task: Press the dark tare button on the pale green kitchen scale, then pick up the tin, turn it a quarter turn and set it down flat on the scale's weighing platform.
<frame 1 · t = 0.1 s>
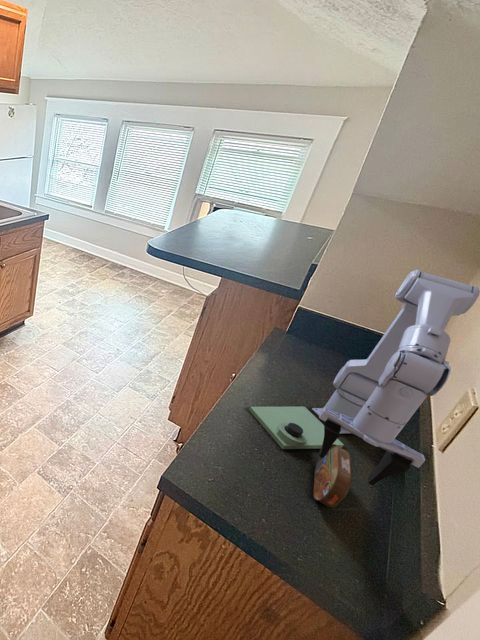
hand: (345, 468, 74), 10 cm above the counter, tool pointing down, fingers open, 7 cm apart
tin: (322, 487, 82), on the counter
tare button: (294, 430, 90), point 3 cm above the counter, slide at 0.1 cm
scale: (293, 428, 96), on the counter
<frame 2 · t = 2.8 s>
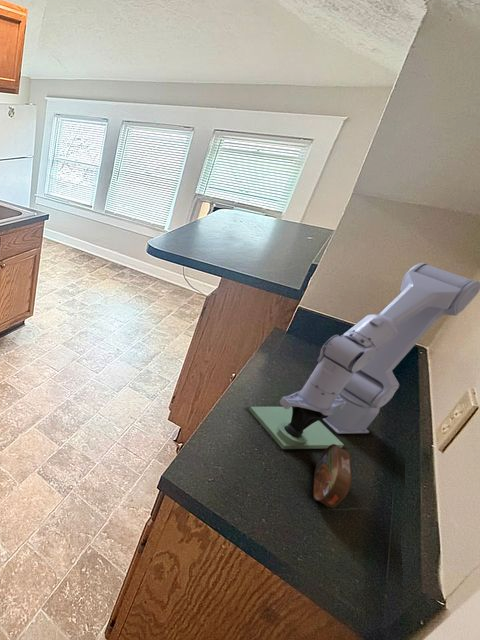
hand: (295, 427, 90), 4 cm above the counter, tool pointing down, fingers closed, pressing on tare button
tare button: (294, 430, 90), point 3 cm above the counter, slide at 0.1 cm, touching gripper
everything else where it was.
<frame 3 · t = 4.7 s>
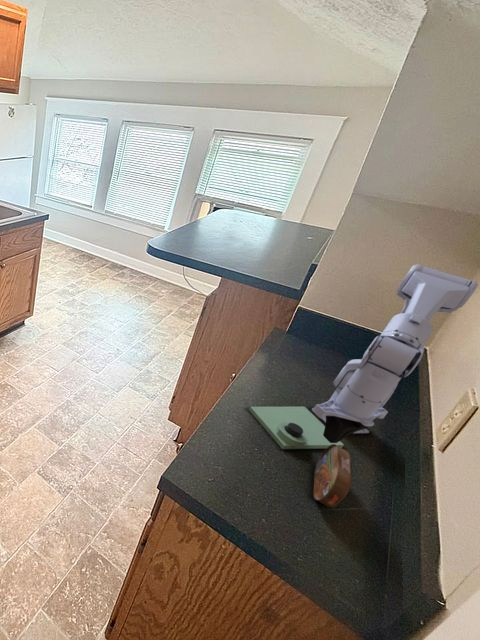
hand: (329, 439, 81), 10 cm above the counter, tool pointing down, fingers closed
tare button: (294, 430, 90), point 3 cm above the counter, slide at 0.1 cm
everything else where it was.
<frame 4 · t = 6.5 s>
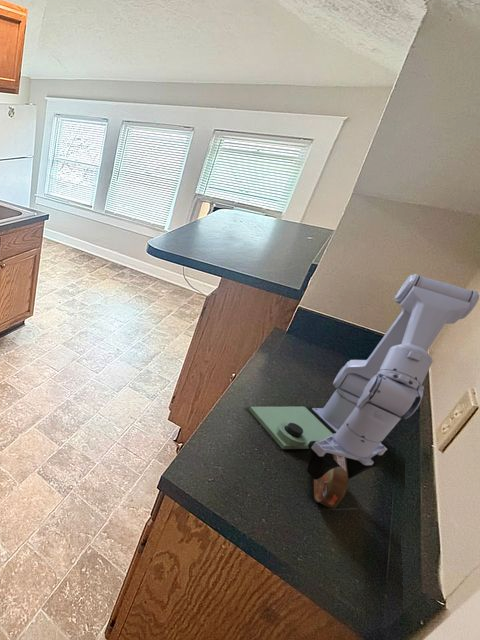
hand: (328, 474, 80), 4 cm above the counter, tool pointing down
tin: (322, 488, 81), on the counter, touching gripper
everything else where it was.
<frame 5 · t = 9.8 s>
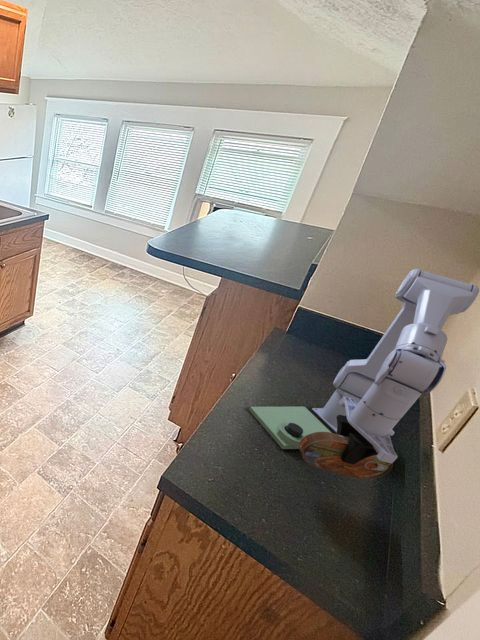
hand: (343, 455, 77), 10 cm above the counter, tool pointing down, fingers closed on tin, 2 cm apart
tin: (332, 466, 80), point 6 cm above the counter, touching gripper
everything else where it was.
when the fingers open (6 cm above the counter, at t = 12.7 s): tin stays where it is, resting on scale.
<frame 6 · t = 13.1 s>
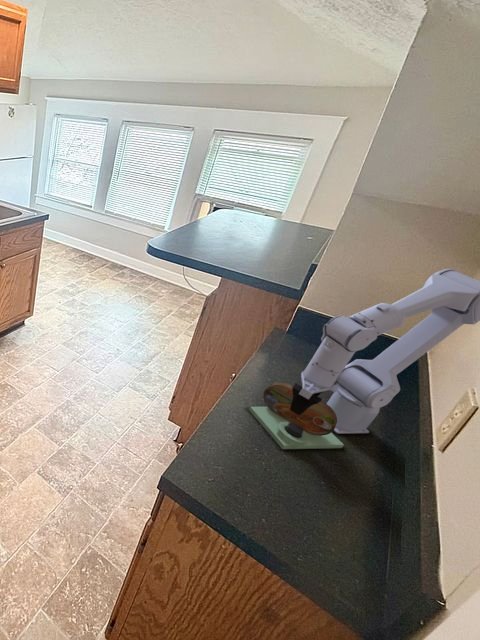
hand: (299, 406, 94), 6 cm above the counter, tool pointing down, fingers open, 6 cm apart
tin: (290, 419, 97), point 1 cm above the counter, touching scale
everything else where it was.
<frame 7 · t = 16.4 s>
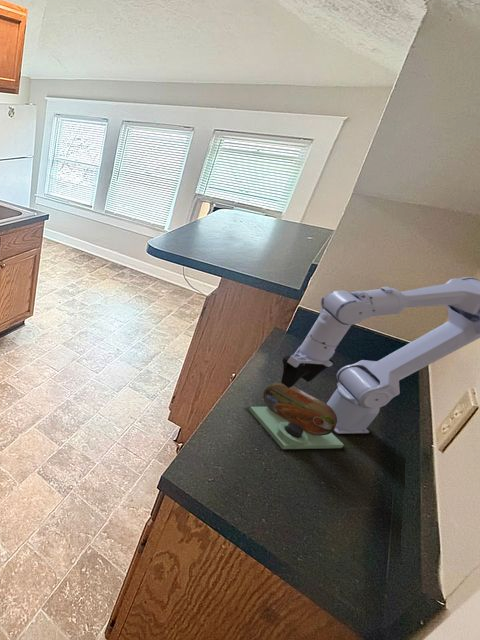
hand: (295, 382, 95), 10 cm above the counter, tool pointing down, fingers open, 7 cm apart
nothing on the counter moved.
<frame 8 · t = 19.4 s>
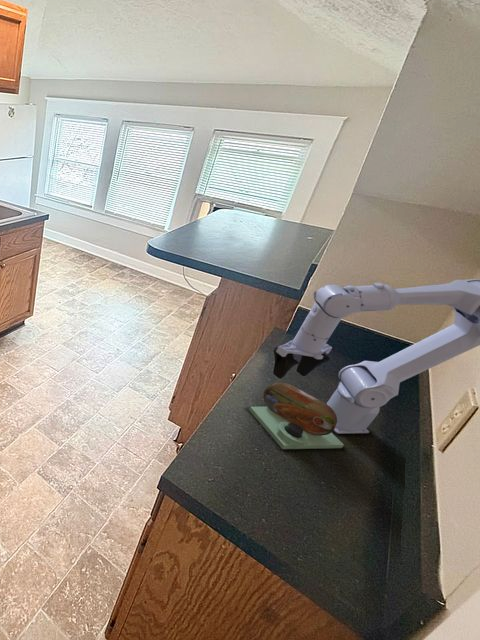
hand: (288, 374, 98), 10 cm above the counter, tool pointing down, fingers open, 7 cm apart
nothing on the counter moved.
at the end: tare button pushed in 1.2 cm at the most during the clip, back to where it started at the end; tin inside the target area on the scale (0.7 cm from its centre), point 1.0 cm above the scale's base; tin touching scale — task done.
